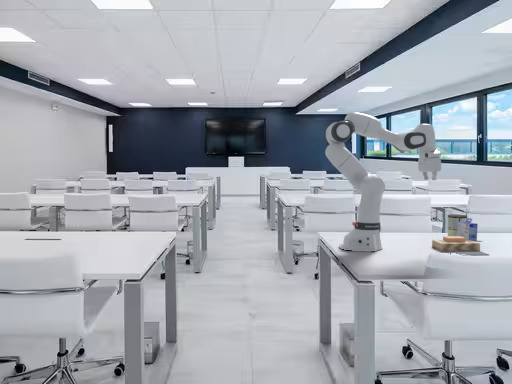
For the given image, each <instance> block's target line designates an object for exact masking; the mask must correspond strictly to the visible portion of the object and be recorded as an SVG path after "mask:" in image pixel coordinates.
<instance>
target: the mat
mask: <svg viewBox="0 0 512 384" xmlns="http://www.w3.org/2000/svg"><path fill="white" fill-rule="evenodd" d="M446 252H448V253H447V254H449V253H456V254H466V255H465V256H490V254H489V253H486V252H484V251H481V250H480V251H478V250H466V251H443V253H446Z"/></svg>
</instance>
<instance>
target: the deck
mask: <svg viewBox="0 0 512 384" xmlns="http://www.w3.org/2000/svg"><path fill="white" fill-rule="evenodd" d="M431 248H433V249H436V250H438V251H440V252H444V251H466V250H478V251H481V243H480V242H478V241H477V242H475V241H472V240H469V239H466V242H447V241H444V240H443V239H432V240H431Z"/></svg>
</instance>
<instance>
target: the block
mask: <svg viewBox="0 0 512 384" xmlns="http://www.w3.org/2000/svg"><path fill="white" fill-rule="evenodd" d="M442 236H443V237H442V240H444V241H447V242H466V238H464V237H461V236H448V235H442Z"/></svg>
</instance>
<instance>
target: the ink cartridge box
mask: <svg viewBox="0 0 512 384" xmlns="http://www.w3.org/2000/svg"><path fill="white" fill-rule="evenodd" d="M472 221H473V218H470V217H467V220H466V222H458V234H457V236H461V237H464V238H466V239H469V240H472V241H475V242H478V226H479V225H478V223H477V222H476V223H474V222H472Z"/></svg>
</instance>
